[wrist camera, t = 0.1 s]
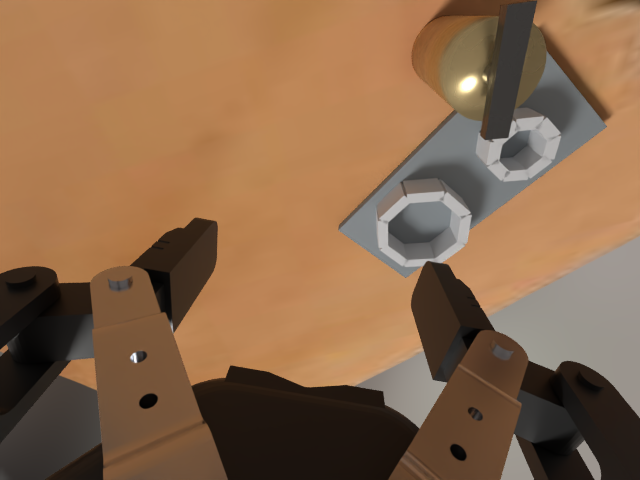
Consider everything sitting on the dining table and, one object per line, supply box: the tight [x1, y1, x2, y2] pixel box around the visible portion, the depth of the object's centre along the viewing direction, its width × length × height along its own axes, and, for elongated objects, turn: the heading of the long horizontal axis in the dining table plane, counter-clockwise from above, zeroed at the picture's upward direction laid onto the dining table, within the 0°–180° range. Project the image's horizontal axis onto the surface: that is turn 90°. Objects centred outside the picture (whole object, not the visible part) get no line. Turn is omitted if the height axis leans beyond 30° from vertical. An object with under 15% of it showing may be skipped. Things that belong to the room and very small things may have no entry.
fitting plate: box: [339, 52, 607, 278], centre depth 32 cm, size 24×11×4 cm, turn 142°
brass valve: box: [412, 1, 547, 140], centre depth 21 cm, size 6×5×14 cm
